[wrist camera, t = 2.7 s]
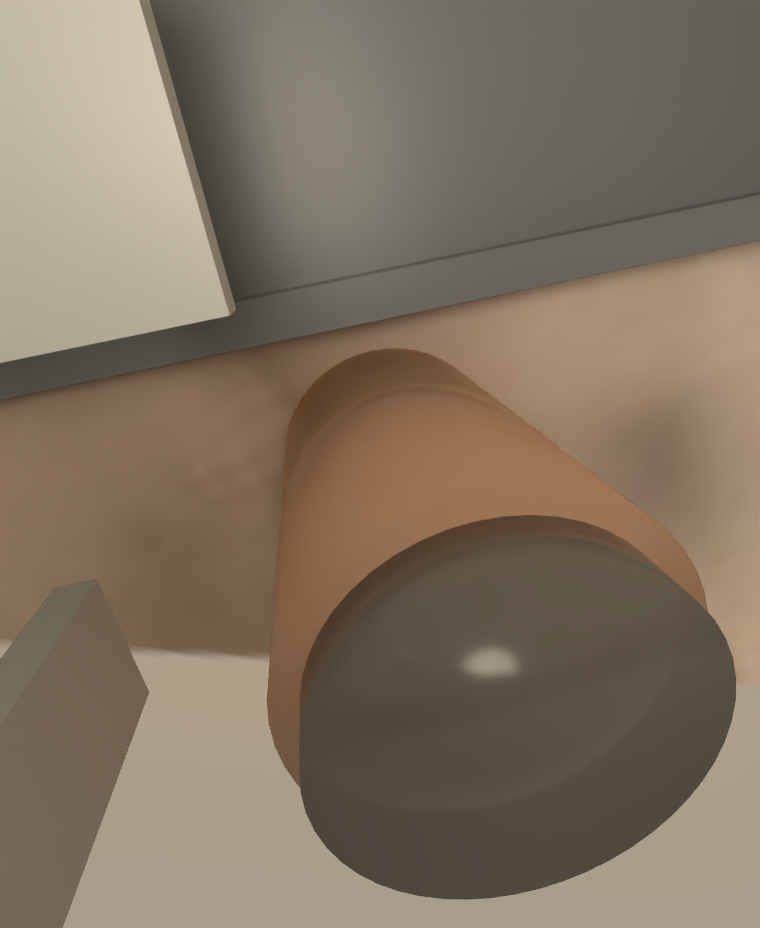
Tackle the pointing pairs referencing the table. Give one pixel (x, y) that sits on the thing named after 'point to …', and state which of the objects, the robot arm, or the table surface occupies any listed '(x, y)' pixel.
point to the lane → (443, 155)
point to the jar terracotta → (478, 641)
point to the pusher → (96, 183)
